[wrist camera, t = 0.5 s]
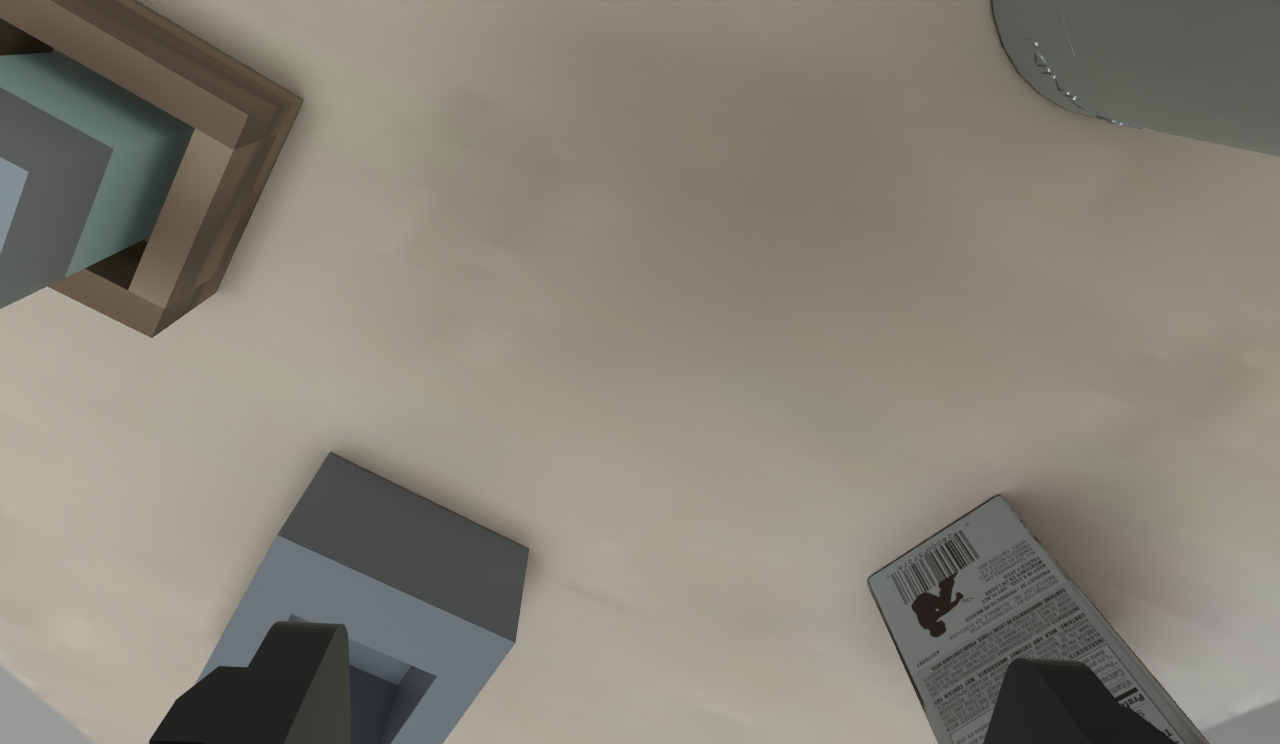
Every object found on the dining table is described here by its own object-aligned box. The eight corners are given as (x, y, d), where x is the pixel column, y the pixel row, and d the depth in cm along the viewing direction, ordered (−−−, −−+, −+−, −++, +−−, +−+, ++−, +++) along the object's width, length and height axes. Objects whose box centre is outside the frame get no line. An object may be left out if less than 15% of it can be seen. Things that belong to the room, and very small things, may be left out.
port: (329, 452, 29) (272, 543, 24) (528, 549, 31) (514, 652, 26) (223, 644, 32) (153, 759, 27) (410, 721, 34) (376, 841, 29)
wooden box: (61, -43, 22) (-45, -55, 19) (303, 100, 24) (248, 114, 20) (-10, 176, 25) (-119, 204, 21) (215, 293, 26) (151, 338, 23)
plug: (83, 50, 22) (-172, 66, 15) (210, 123, 23) (28, 172, 16) (43, 163, 24) (-212, 230, 16) (166, 228, 24) (-23, 319, 17)
